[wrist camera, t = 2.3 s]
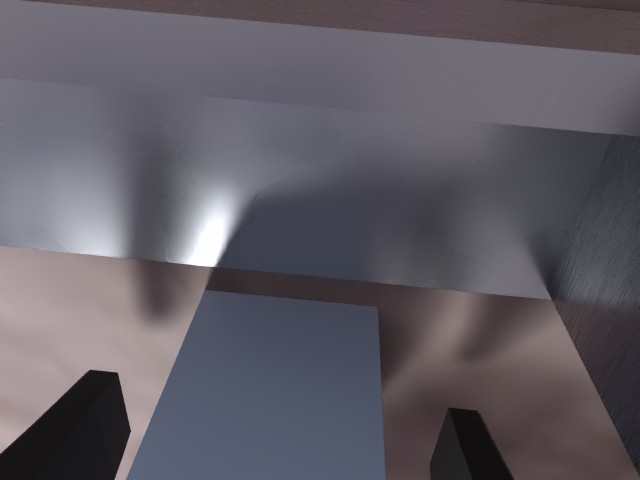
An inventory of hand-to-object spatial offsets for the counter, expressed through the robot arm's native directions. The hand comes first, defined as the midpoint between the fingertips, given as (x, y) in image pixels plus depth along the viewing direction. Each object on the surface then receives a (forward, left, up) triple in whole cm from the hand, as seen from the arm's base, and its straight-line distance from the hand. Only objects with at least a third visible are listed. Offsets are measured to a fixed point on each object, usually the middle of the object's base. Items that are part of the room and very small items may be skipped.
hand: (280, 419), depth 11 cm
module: (0, 0, -2) cm, 2 cm away
